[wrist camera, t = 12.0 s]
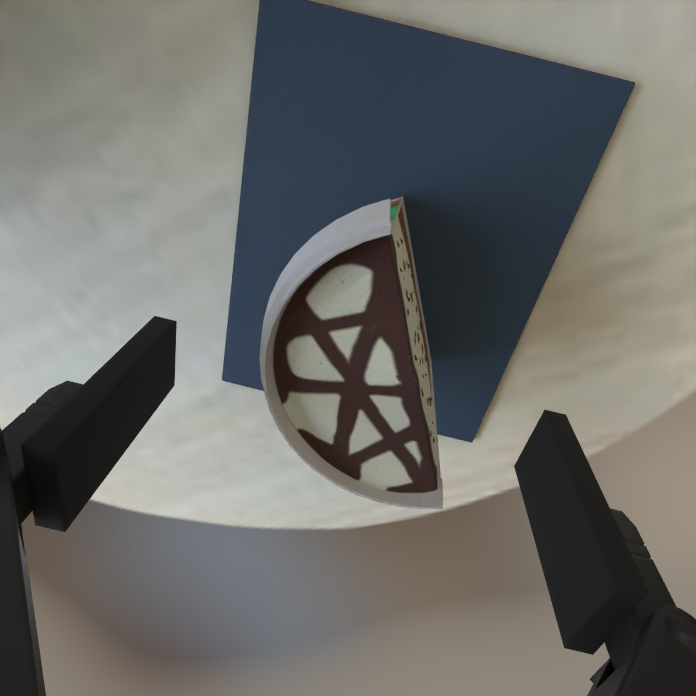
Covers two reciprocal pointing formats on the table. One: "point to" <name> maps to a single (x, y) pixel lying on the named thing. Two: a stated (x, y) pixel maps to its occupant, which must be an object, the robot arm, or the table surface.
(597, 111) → the mat
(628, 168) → the table surface
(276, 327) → the food container
